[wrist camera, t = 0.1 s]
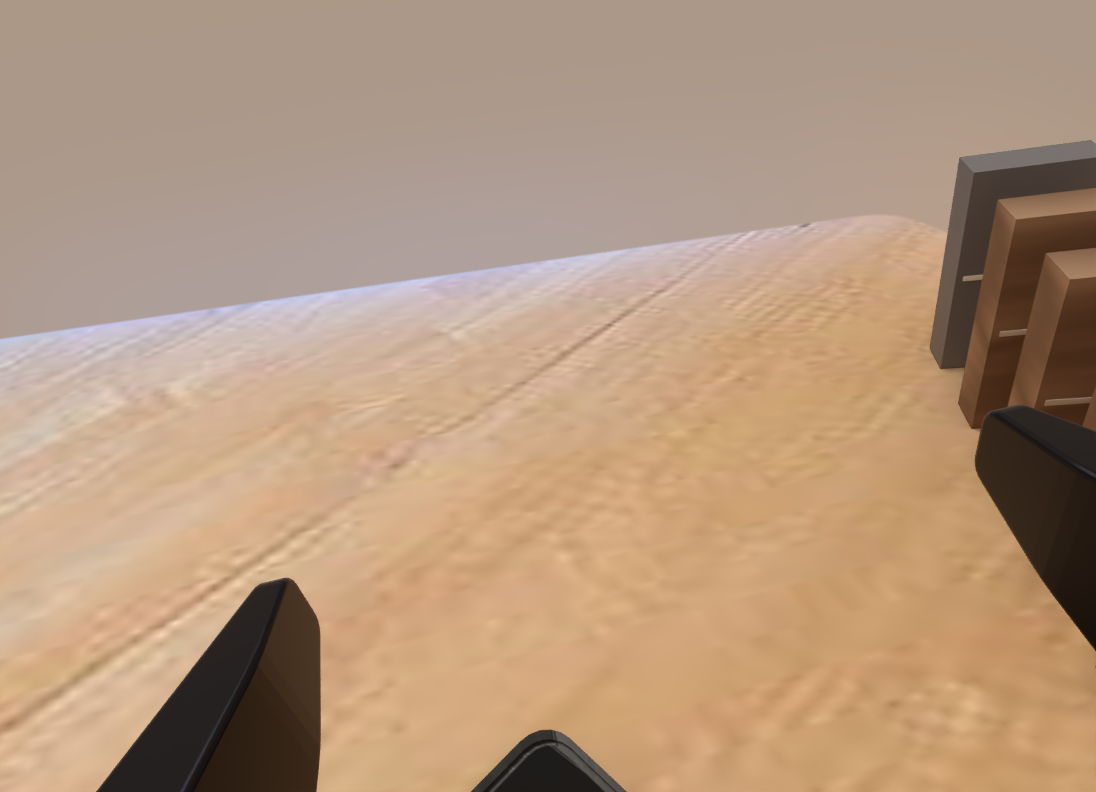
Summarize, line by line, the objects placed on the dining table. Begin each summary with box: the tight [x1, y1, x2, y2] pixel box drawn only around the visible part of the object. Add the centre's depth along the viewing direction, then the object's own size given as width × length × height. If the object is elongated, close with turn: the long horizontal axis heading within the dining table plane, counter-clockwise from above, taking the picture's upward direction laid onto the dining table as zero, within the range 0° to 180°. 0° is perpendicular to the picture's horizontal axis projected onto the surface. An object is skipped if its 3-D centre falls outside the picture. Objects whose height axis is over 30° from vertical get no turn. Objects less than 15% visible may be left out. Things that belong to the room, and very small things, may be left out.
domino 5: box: [930, 140, 1096, 369], centre depth 33 cm, size 2×5×10 cm, turn 83°
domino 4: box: [958, 188, 1096, 428], centre depth 29 cm, size 2×5×10 cm, turn 82°
